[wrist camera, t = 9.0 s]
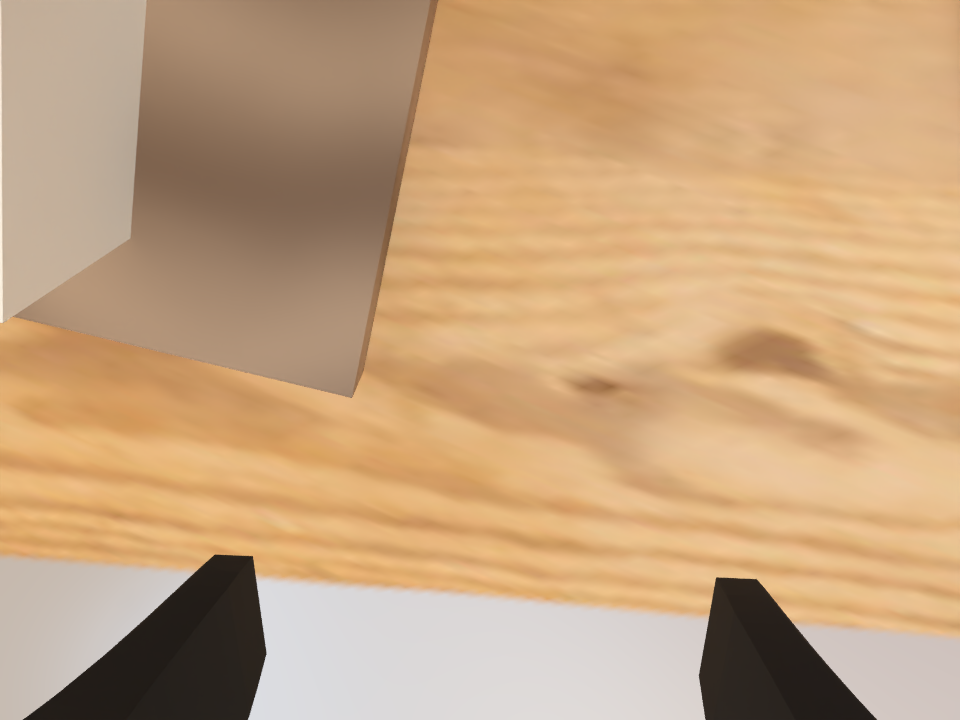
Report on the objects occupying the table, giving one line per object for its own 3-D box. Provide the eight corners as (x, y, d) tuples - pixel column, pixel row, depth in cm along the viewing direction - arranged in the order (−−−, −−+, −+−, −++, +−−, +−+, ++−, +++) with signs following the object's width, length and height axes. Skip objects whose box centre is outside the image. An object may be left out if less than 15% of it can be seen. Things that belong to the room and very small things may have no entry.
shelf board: (-232, -276, 16) (-303, -299, 15) (455, -88, 17) (449, -93, 15) (-170, 242, 21) (-219, 261, 19) (363, 370, 21) (351, 398, 20)
